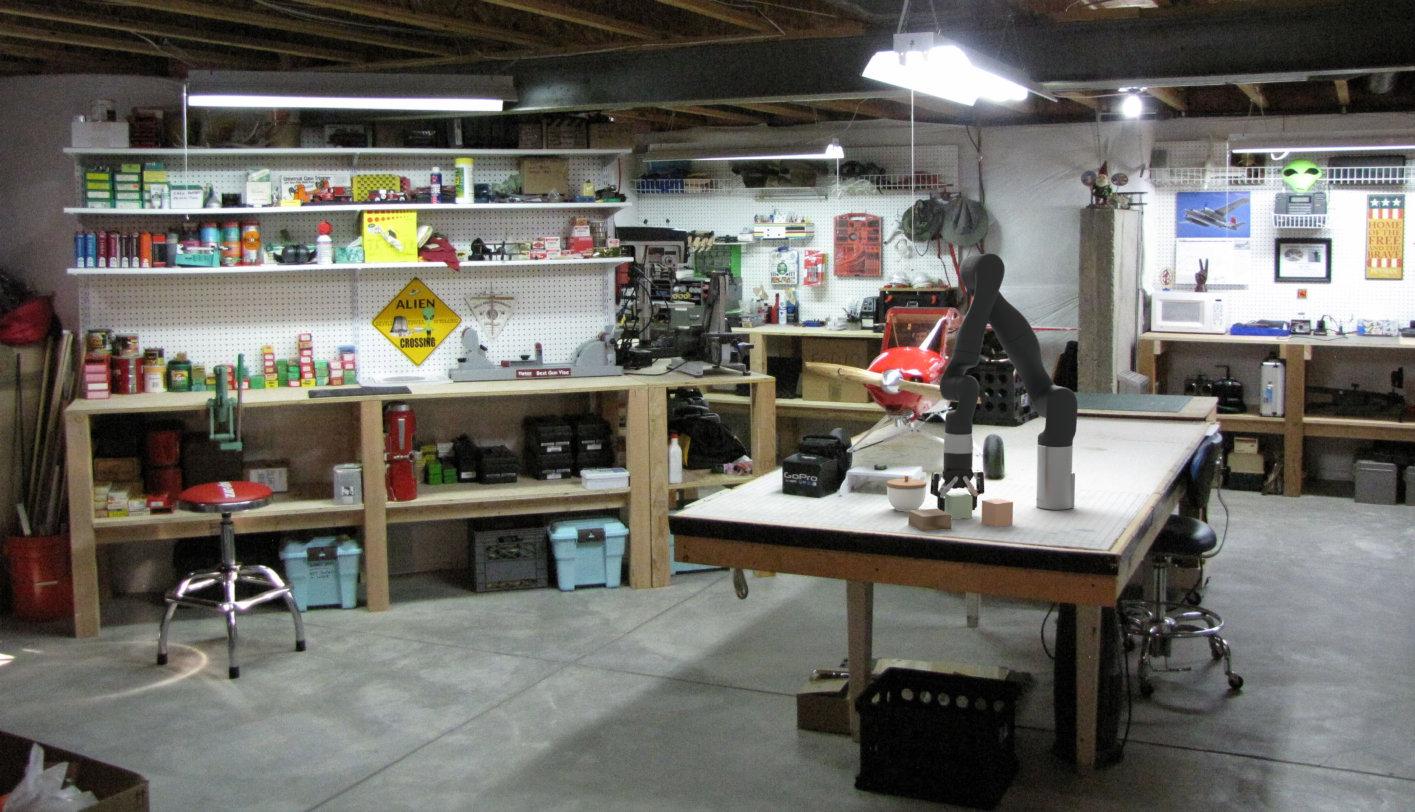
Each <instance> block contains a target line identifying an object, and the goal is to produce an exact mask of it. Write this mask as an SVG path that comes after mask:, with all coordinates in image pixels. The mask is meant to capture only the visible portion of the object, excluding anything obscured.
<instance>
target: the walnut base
mask: <svg viewBox="0 0 1415 812" xmlns="http://www.w3.org/2000/svg"><path fill="white" fill-rule="evenodd" d="M908 525H909V526H910V525H911V527H912V526H913V528H914V527H915V528H914V529H916V528H917V529H916V530H918V531H921V532H932V531H941V530H940V529H945V530H952V519H951V514H949V513H946V512H944V511H942V510H939V509H938V508H928V509H926V508H925V509H918V510H910V511H909V512H908Z"/></svg>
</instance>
